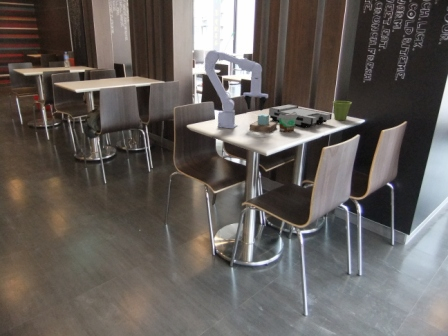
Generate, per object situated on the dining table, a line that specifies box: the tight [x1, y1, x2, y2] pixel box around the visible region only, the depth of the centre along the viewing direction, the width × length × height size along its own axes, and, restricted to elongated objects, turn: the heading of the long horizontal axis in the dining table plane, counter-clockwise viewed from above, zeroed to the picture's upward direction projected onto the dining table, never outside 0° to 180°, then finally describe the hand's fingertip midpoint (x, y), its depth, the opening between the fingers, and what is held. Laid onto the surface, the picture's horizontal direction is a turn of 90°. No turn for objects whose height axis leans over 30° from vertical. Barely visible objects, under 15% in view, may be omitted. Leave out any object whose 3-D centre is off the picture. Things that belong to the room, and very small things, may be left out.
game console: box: [268, 104, 333, 129], centre depth 212 cm, size 21×32×8 cm, turn 41°
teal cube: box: [257, 113, 270, 125], centre depth 196 cm, size 5×5×5 cm
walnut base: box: [249, 120, 278, 133], centre depth 197 cm, size 12×12×3 cm
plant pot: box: [332, 100, 353, 121], centre depth 221 cm, size 12×12×11 cm
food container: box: [278, 112, 297, 133], centre depth 191 cm, size 12×6×10 cm, turn 126°
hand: (255, 109), depth 198 cm, fingers open, 7 cm apart
